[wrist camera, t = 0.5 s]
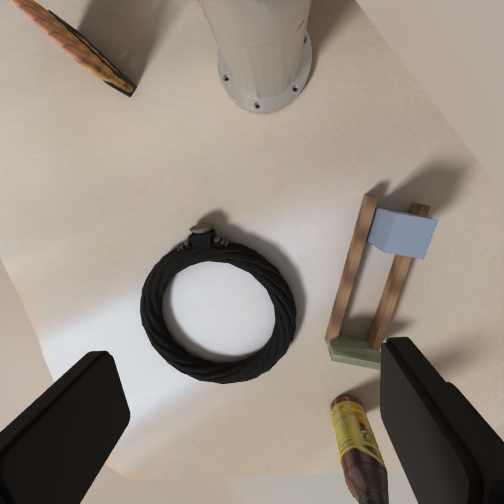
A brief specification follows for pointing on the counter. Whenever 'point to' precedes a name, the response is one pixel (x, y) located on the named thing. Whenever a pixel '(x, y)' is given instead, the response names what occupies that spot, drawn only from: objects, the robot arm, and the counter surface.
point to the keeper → (401, 232)
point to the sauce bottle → (359, 452)
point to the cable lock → (222, 250)
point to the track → (369, 350)
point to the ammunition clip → (76, 45)
